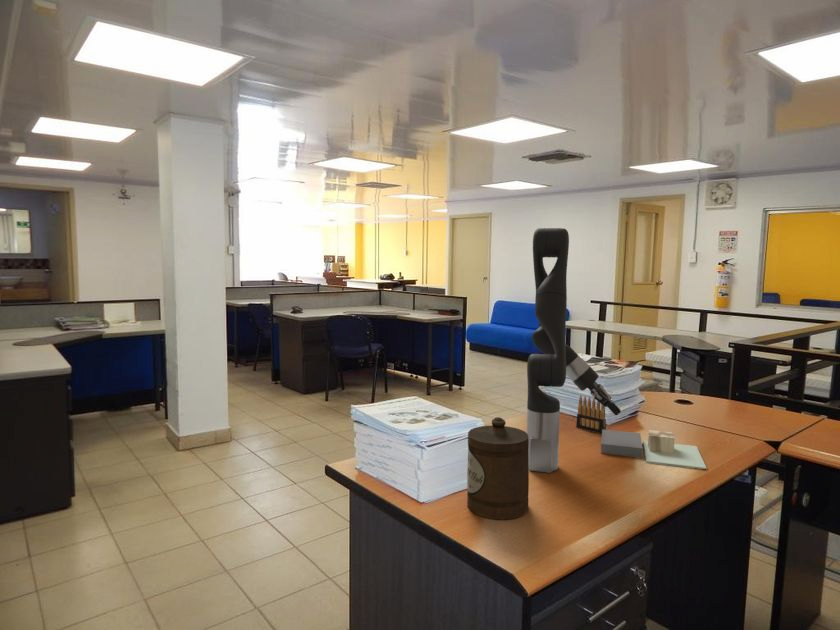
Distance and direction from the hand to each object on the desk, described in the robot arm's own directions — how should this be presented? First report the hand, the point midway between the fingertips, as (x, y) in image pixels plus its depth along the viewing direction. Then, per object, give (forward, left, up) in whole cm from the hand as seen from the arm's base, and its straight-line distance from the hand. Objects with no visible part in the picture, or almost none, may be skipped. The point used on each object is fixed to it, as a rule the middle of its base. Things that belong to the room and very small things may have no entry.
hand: (618, 413), depth 172 cm
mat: (-2, -16, -11) cm, 20 cm away
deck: (0, -1, -11) cm, 11 cm away
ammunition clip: (+16, +9, -12) cm, 22 cm away
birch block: (+1, -9, -8) cm, 13 cm away
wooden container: (-56, +28, -12) cm, 63 cm away
